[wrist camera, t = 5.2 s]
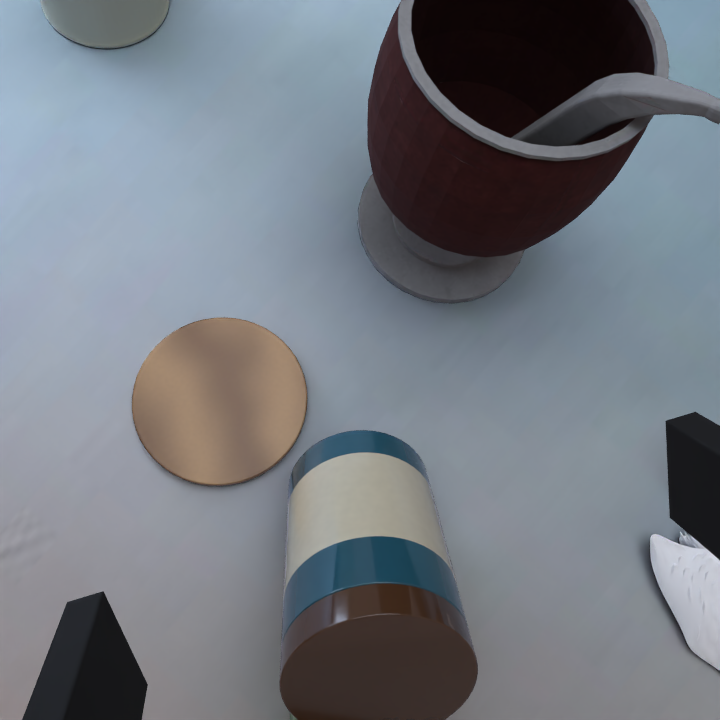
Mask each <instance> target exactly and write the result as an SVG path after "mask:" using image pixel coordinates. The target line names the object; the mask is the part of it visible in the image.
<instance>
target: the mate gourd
mask: <svg viewBox="0 0 720 720" xmlns="http://www.w3.org/2000/svg"><path fill="white" fill-rule="evenodd" d="M668 72H669V60H668V53H667V46H666V42H665V39H664V36H663V33H662V31H661V28H660V25H659V22H658V20H657V19H656V17H655V15H654V14H653V12H652V10H651V9H650V7H649V5H648V3H647V2H646V0H401V2H400V4H399V6H398V7H397V9H396V11H395V13H394V15H393V17H392V20H391V22H390V25H389V27H388V30H387V32H386V35H385V37H384V39H383V42H382V44H381V47H380V51H379V54H378V58H377V61H376V65H375V69H374V74H373V79H372V84H371V89H370V94H369V99H368V150H369V156H370V162H371V167H372V172H373V174H372V175H371V176H370V178H369V180H368V182H367V183H366V185H365V187H364V189H363V192H362V196H361V200H360V204H359V208H358V228H359V234H360V239H361V242H362V244H363V247H364V249H365V251H366V254H367V255H368V257H369V258H370V260H371V262H372V263H373V265H374V266H375V268H376V269H377V270H378V271H379V272H380V273H381V274H382V275H383V276H384V277H385V278H386V279H387V280H388V281H390V282H391V283H392V284H394V285H395V286H397V287H398V288H399V289H401V290H403V291H405V292H407V293H409V294H411V295H413V296H415V297H417V298H421V299H425V300H429V301H432V302H440V303H459V302H468V301H471V300H474V299H477V298H480V297H483V296H485V295H487V294H488V293H490V292H492V291H494V290H496V289H497V288H498V287H499V286H500V285H501V284H502V283H504V282H505V281H506V280H507V279H508V278H509V277H510V275H511V274H512V273H513V271H514V270H515V268H516V267H517V266H518V264H519V262H520V260H521V258H522V255H523V253H524V250H525V249H527V248H529V247H531V246H533V245H535V244H537V243H539V242H540V241H542V240H544V239H546V238H548V237H549V236H551V235H553V234H555V233H556V232H558V231H559V230H560V229H562V228H563V227H565V226H566V225H567V224H569V223H570V222H571V221H573V220H574V219H575V218H577V217H578V216H579V215H580V214H581V213H582V212H583V211H584V210H586V209H587V208H588V207H589V206H590V205H591V204H592V203H593V202H594V201H595V200H596V199H597V197H598V196H599V195H600V194H601V193H602V192H603V191H604V190H605V189H606V188H607V186H608V185H609V184H610V183H611V182H612V181H613V180H614V179H615V177H616V176H617V174H618V173H619V171H620V170H621V168H622V167H623V165H624V164H625V162H626V161H627V159H628V158H629V156H630V154H631V153H632V151H633V150H634V148H635V146H636V145H637V143H638V142H639V140H640V138H641V137H642V135H643V133H644V132H645V130H646V127H647V125H648V123H649V122H650V120H651V119H652V117H653V116H654V115H661V114H684V115H695V116H702V117H705V118H707V119H708V120H710V121H712V122H715V123H717V124H719V123H720V99H718V98H716V97H714V96H712V95H710V94H708V93H706V92H704V91H701V90H698V89H695V88H692V87H689V86H687V85H684V84H681V83H678V82H675V81H672V80H669V79H668Z"/></svg>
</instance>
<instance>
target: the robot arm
mask: <svg viewBox="0 0 720 720" xmlns="http://www.w3.org/2000/svg"><path fill="white" fill-rule="evenodd" d="M666 440H667V463H668V485H669V508H670V518H671V519H672V520H673V521H675V522H676V523H677V524H678V525H679V526H680V527H682V528H683V529H684V530H685V531H686V532H687V533H689V534H690V535H691V536H692V537H693V538H694V539H696V540H697V541H698V542H699V543H700V544H701V545H703V546H704V547H705V548H706V549H707V550H708V551H710V552H711V553H712V554H713V555H714V556H715V557H717V558H718V559H719V560H720V426H719V425H717V424H715V423H714V422H712V421H710V420H709V419H707V418H705V417H703V416H702V415H700V414H698V413H696V412H694V413H690V414H687V415H684V416H680V417H677V418H674V419H670V420H667V421H666ZM147 685H148V684H147V682H146V680H145V678H144V676H143V674H142V672H141V670H140V668H139V665H138V663H137V661H136V659H135V657H134V655H133V653H132V651H131V649H130V646H129V644H128V642H127V640H126V638H125V636H124V634H123V632H122V630H121V627H120V625H119V623H118V621H117V619H116V617H115V615H114V613H113V611H112V608H111V606H110V604H109V602H108V600H107V598H106V596H105V594H104V592H100V593H96V594H93V595H90V596H86V597H83V598H80V599H77V600H73V601H70V602H67V604H66V607H65V609H64V612H63V615H62V617H61V620H60V622H59V625H58V628H57V630H56V633H55V635H54V638H53V641H52V643H51V646H50V649H49V651H48V654H47V656H46V659H45V662H44V664H43V667H42V669H41V672H40V675H39V677H38V680H37V683H36V685H35V688H34V690H33V693H32V696H31V698H30V701H29V703H28V706H27V709H26V711H25V714H24V717H23V719H22V720H142V714H143V708H144V702H145V697H146V691H147Z"/></svg>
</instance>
